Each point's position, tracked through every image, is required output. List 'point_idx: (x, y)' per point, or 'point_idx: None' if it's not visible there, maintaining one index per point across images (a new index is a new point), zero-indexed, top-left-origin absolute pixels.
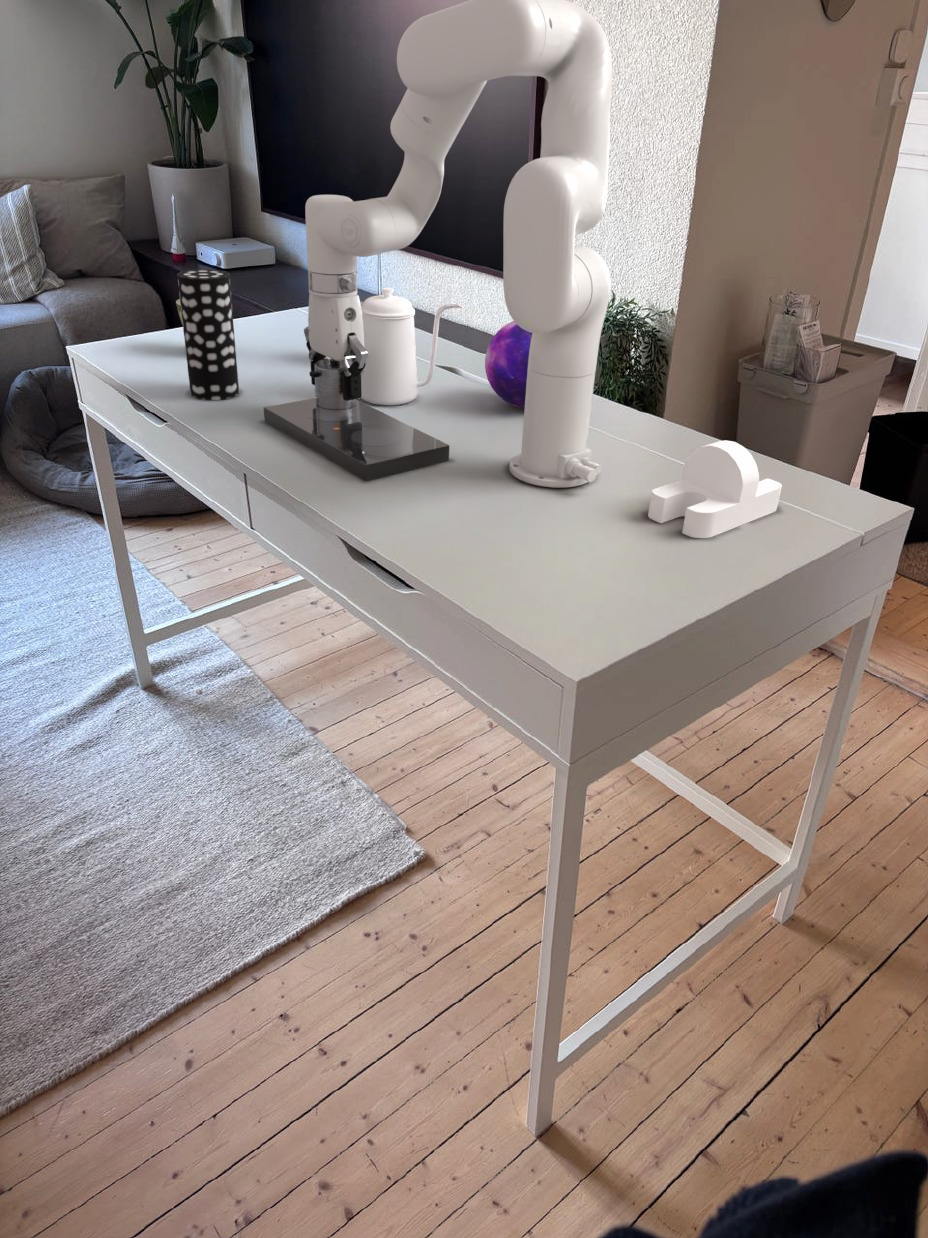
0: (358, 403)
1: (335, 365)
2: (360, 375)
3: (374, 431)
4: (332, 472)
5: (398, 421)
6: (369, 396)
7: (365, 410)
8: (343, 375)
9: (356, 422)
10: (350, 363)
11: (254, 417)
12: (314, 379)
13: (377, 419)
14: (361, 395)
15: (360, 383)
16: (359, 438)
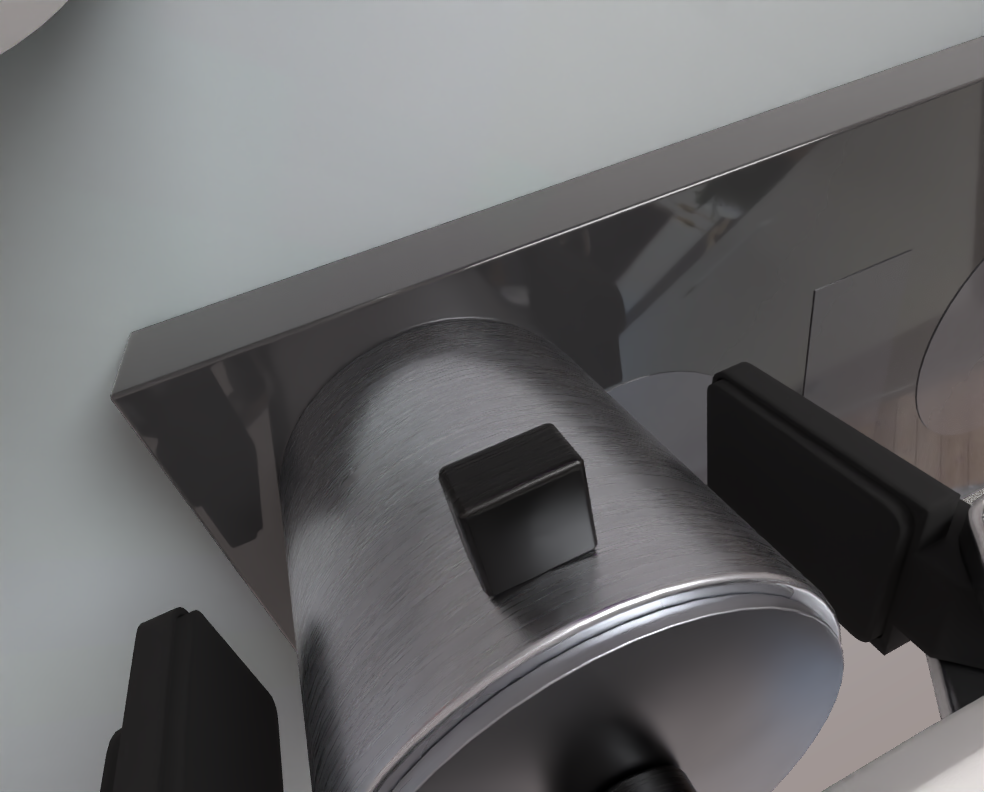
0: (501, 299)
1: (694, 782)
2: (934, 487)
3: (970, 313)
4: None
5: (970, 100)
6: (32, 22)
7: (674, 281)
8: (886, 647)
9: (822, 384)
10: (705, 653)
11: (302, 765)
12: (279, 750)
13: (857, 243)
14: (750, 364)
15: (846, 433)
16: (976, 401)
